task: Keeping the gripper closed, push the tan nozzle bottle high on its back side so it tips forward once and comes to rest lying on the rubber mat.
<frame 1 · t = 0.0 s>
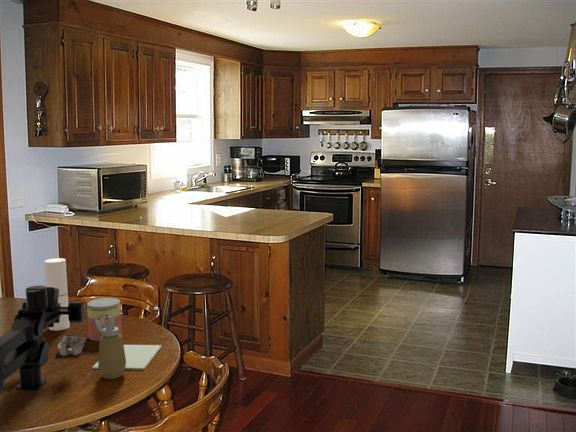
hand: (64, 304, 209), 17 cm above the table, tool horizontal, fingers open, 9 cm apart
canned food: (105, 335, 229), on the table
mat: (128, 357, 207), on the table
cylindrical container: (59, 327, 238), on the table
tan nozzle bottle: (112, 376, 192), on the table
egg carton: (72, 351, 215), on the table
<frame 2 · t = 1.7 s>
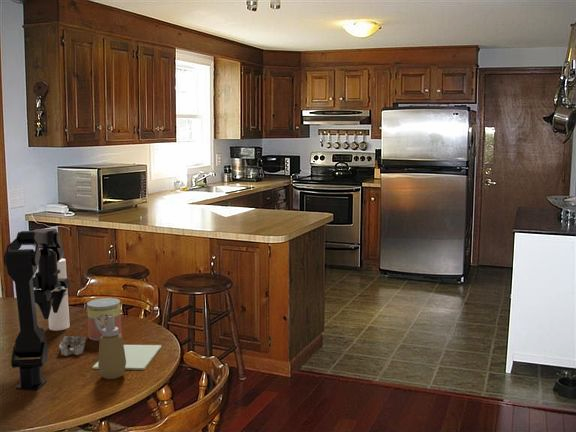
hand: (51, 315, 208), 13 cm above the table, tool pointing down, fingers open, 6 cm apart
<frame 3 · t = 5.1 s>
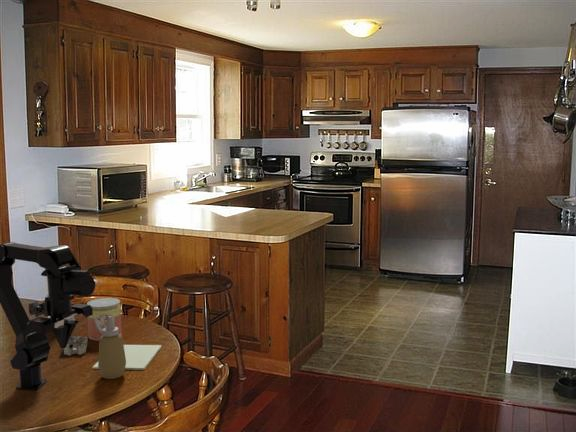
hand: (63, 348, 178), 13 cm above the table, tool pointing down, fingers closed
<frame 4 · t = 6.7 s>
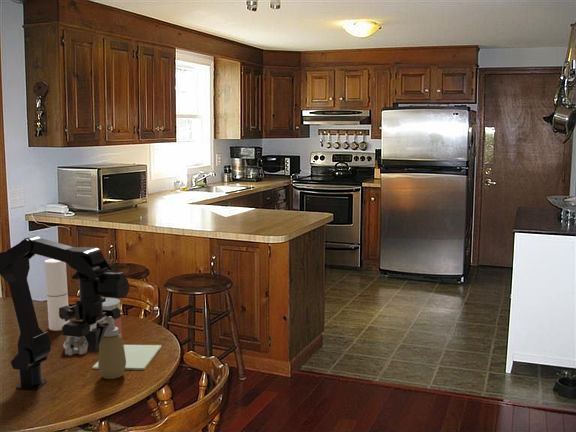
hand: (94, 351, 177), 12 cm above the table, tool pointing down, fingers closed
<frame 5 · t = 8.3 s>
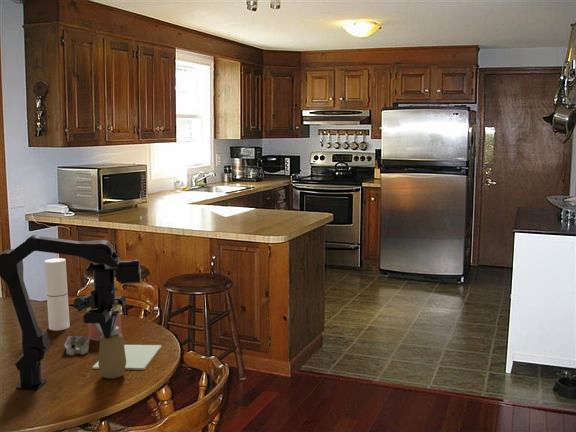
hand: (107, 338, 187), 13 cm above the table, tool pointing down, fingers closed
tan nozzle bottle: (112, 376, 192), on the table, touching gripper
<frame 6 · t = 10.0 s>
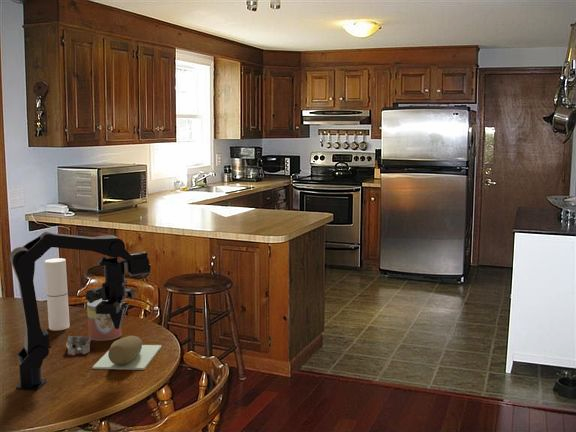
hand: (117, 328, 196), 13 cm above the table, tool pointing down, fingers closed
tan nozzle bottle: (117, 355, 195), point 5 cm above the table, touching mat
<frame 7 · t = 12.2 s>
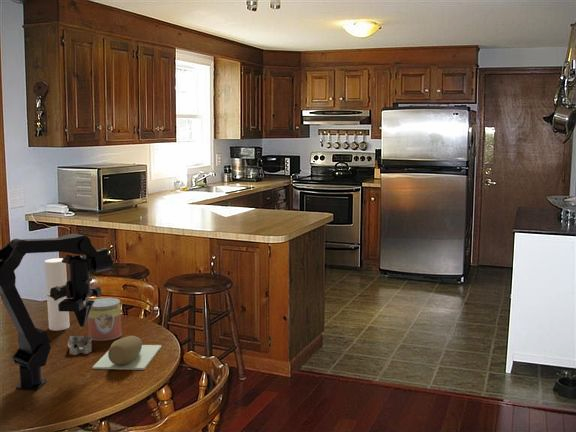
hand: (82, 326, 198), 13 cm above the table, tool pointing down, fingers closed
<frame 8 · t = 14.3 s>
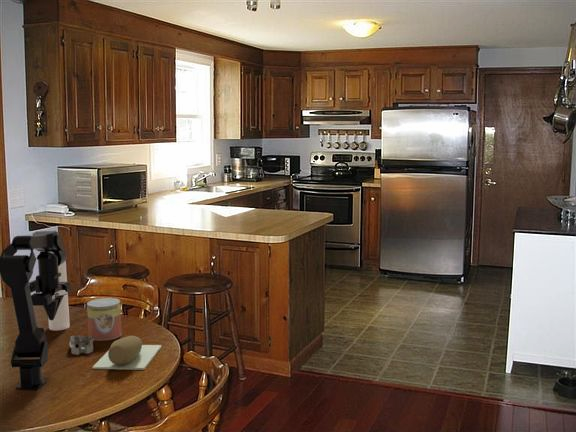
hand: (51, 319, 204), 13 cm above the table, tool pointing down, fingers closed
at the end: tan nozzle bottle tilted 95°; tan nozzle bottle touching mat; tan nozzle bottle inside the target area (4.5 cm from its centre), point 4.9 cm above the table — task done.
